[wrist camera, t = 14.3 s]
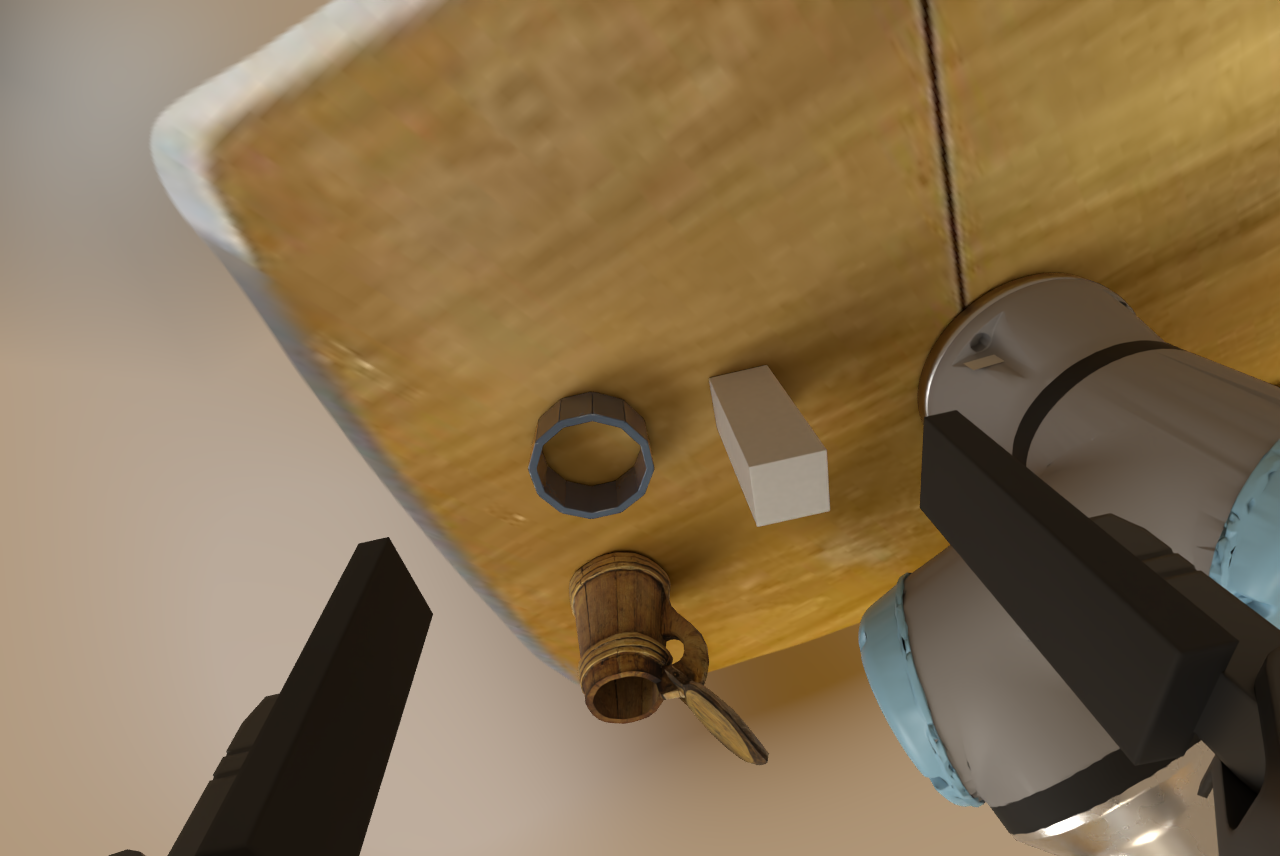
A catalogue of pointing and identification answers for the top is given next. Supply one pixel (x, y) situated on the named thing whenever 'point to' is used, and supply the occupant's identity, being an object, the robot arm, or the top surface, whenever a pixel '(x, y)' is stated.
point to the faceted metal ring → (580, 496)
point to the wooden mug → (645, 651)
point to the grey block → (770, 446)
